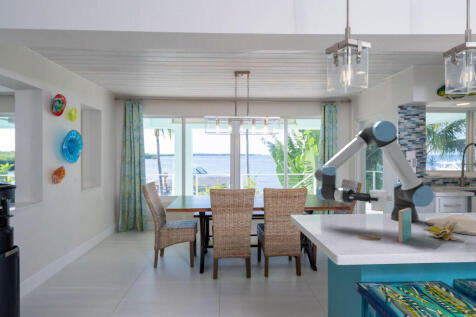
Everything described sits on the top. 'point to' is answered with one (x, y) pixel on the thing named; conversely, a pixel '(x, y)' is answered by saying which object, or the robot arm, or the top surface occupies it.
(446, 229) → the decorative flower
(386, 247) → the top surface
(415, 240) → the mat
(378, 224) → the top surface
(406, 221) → the tile
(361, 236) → the coaster
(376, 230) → the top surface
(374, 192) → the white cup
